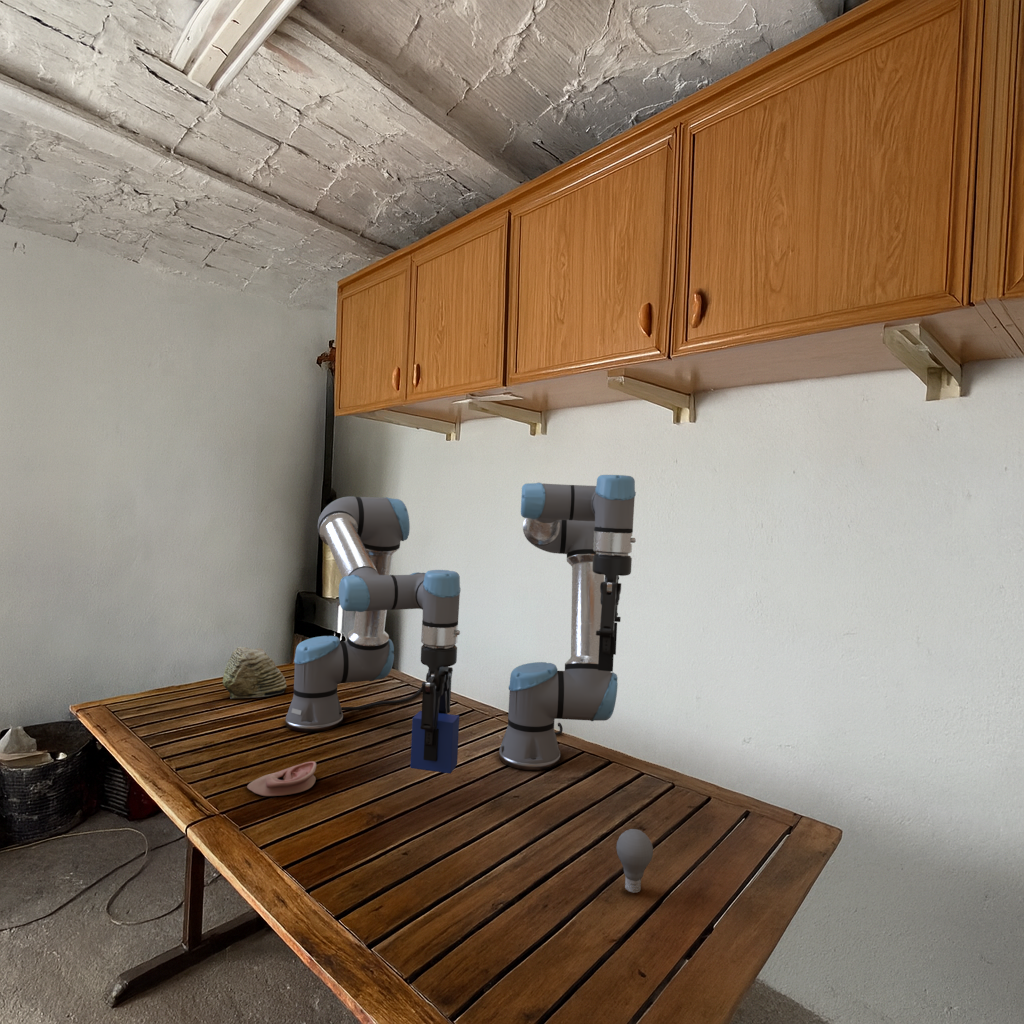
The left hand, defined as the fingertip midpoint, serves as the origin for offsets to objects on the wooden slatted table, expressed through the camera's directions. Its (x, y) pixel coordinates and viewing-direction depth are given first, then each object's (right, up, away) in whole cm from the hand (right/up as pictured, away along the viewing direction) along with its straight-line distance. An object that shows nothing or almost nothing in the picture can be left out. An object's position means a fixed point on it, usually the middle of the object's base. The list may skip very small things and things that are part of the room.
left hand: (434, 754), depth 133 cm
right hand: (+35, +22, -9) cm, 42 cm away
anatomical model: (-34, -9, +5) cm, 35 cm away
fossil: (-64, -6, +65) cm, 92 cm away
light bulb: (+36, -12, -27) cm, 47 cm away
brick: (0, -3, 0) cm, 3 cm away
